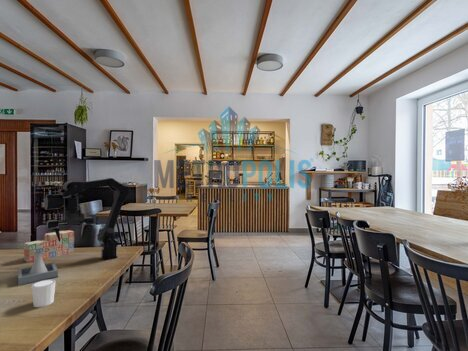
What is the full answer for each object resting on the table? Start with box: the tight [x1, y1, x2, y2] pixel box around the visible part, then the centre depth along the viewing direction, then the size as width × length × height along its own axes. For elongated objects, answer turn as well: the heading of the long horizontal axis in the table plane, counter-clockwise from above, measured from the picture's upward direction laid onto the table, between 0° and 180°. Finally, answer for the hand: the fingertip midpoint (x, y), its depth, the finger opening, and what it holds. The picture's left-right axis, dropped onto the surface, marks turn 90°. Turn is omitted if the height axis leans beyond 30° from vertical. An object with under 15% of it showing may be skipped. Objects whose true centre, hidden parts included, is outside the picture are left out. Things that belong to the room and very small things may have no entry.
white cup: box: [31, 278, 56, 308], centre depth 90 cm, size 7×7×7 cm
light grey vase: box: [29, 251, 48, 275], centre depth 112 cm, size 7×7×10 cm
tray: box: [17, 261, 59, 287], centre depth 112 cm, size 13×13×3 cm
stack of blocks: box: [23, 229, 75, 264], centre depth 140 cm, size 21×6×12 cm, turn 146°
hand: (70, 239), depth 124 cm, fingers open, 9 cm apart
